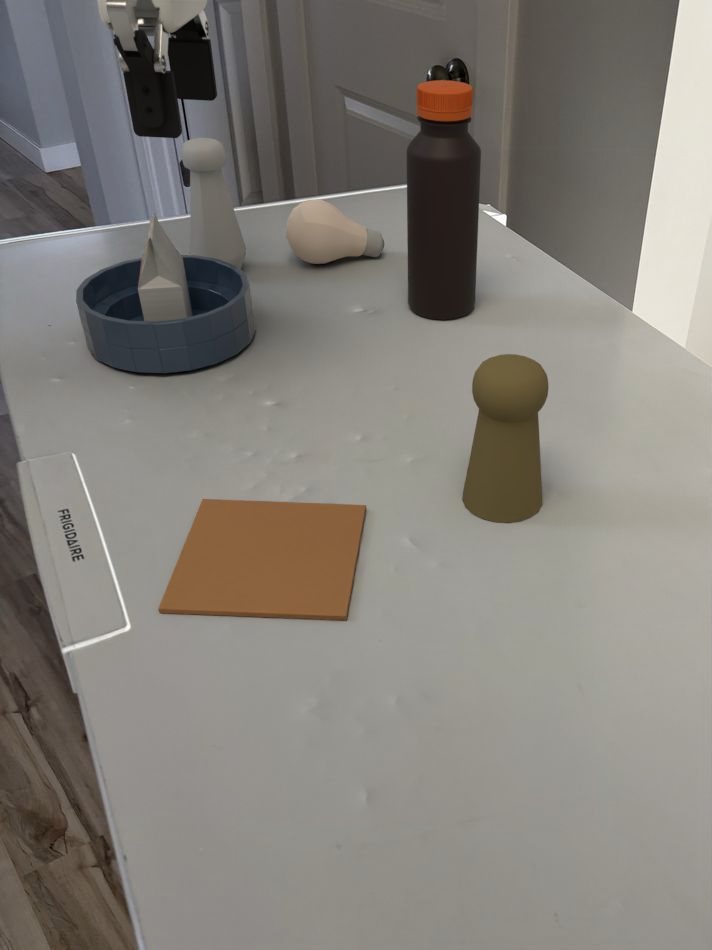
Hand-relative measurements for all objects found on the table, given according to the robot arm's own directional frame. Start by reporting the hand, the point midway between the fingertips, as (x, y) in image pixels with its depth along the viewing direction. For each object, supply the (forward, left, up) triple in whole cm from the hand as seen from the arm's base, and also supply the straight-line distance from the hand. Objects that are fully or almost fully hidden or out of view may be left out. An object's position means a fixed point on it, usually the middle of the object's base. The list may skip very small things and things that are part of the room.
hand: (178, 116), depth 67 cm
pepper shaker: (+25, -16, -22) cm, 36 cm away
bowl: (-6, +8, -21) cm, 24 cm away
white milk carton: (-6, +8, -21) cm, 24 cm away
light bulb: (+7, +28, -22) cm, 36 cm away
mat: (+9, -24, -21) cm, 33 cm away
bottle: (+19, +17, -22) cm, 33 cm away
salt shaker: (-5, +24, -22) cm, 33 cm away
